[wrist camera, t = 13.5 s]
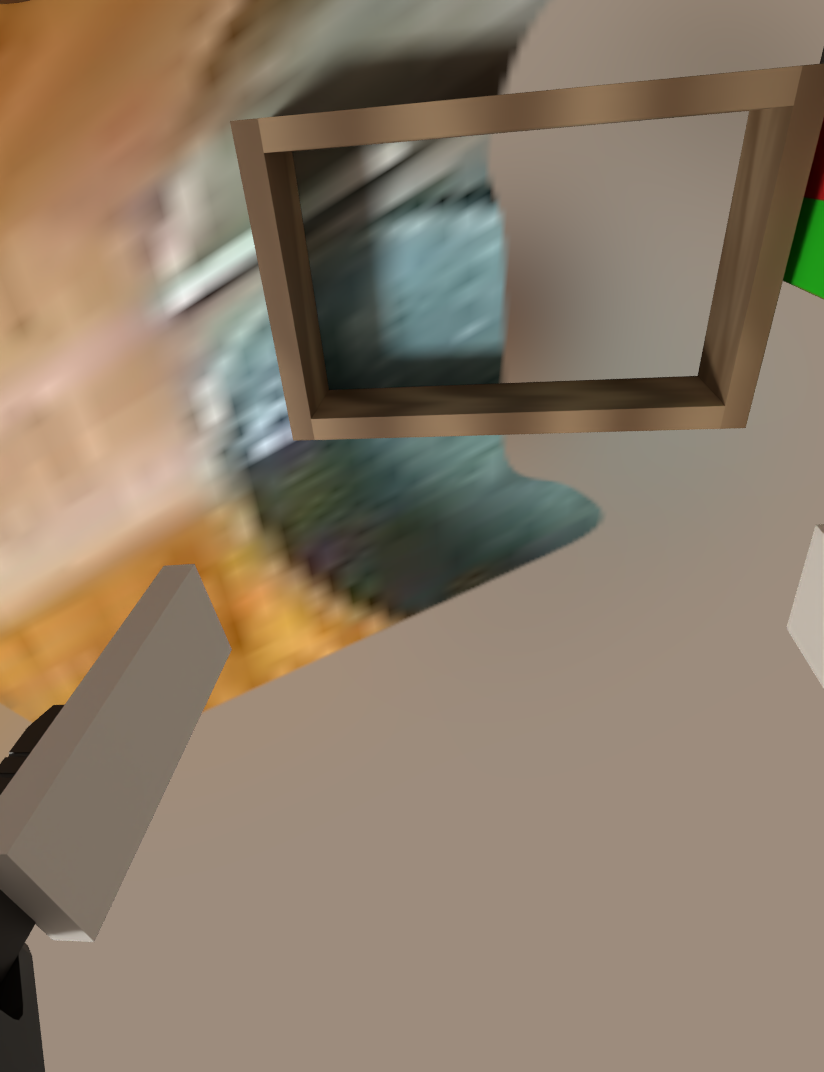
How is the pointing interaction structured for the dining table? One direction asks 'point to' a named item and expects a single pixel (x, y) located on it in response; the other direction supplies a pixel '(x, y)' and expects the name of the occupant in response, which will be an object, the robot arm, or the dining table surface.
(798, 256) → the puzzle toy
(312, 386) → the pocket frame
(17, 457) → the dining table surface
